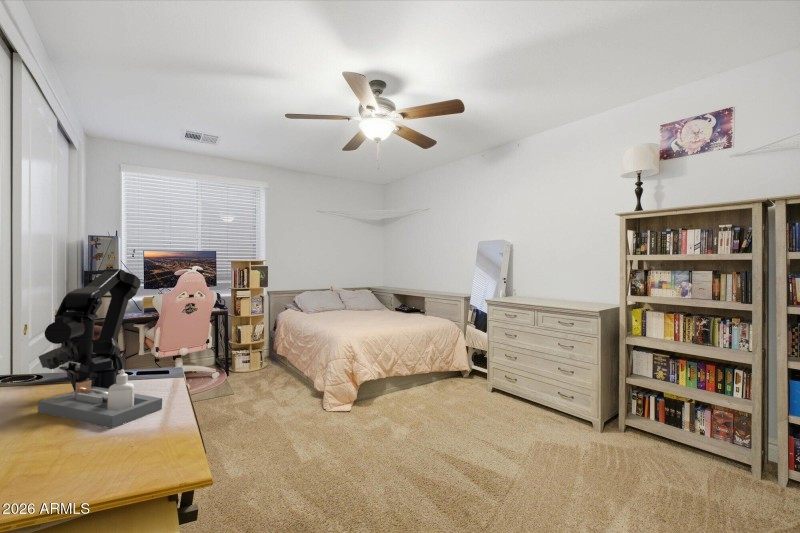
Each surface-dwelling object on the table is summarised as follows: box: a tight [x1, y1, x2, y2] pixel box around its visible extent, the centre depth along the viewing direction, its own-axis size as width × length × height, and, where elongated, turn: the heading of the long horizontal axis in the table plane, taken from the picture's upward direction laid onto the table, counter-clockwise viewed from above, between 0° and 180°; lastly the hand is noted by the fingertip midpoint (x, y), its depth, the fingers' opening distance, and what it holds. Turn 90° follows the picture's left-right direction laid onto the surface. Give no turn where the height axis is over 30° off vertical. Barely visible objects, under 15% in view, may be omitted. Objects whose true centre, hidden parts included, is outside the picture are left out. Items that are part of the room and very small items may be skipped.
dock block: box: [37, 386, 163, 429], centre depth 100 cm, size 14×27×4 cm, turn 73°
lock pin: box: [75, 378, 108, 401], centre depth 101 cm, size 3×12×4 cm, turn 73°
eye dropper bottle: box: [107, 369, 135, 411], centre depth 98 cm, size 4×6×12 cm
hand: (76, 391), depth 103 cm, fingers closed
